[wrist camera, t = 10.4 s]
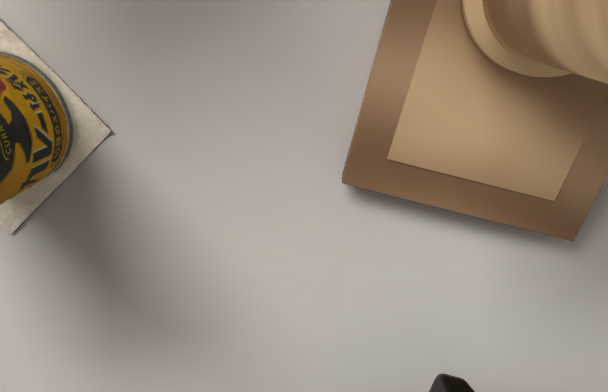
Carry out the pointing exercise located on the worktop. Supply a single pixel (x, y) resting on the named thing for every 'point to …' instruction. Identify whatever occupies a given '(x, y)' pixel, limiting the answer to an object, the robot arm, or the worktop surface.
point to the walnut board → (476, 128)
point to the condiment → (37, 131)
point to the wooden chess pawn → (541, 35)
